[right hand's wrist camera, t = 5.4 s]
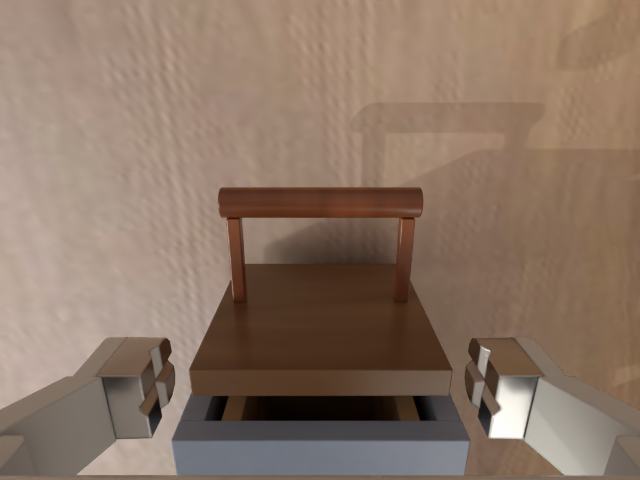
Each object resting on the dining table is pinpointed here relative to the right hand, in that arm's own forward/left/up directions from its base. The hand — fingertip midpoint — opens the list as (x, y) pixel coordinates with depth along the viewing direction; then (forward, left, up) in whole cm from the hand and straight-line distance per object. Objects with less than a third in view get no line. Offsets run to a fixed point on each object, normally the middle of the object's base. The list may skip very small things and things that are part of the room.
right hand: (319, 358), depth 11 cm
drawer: (+8, -5, -13) cm, 16 cm away
